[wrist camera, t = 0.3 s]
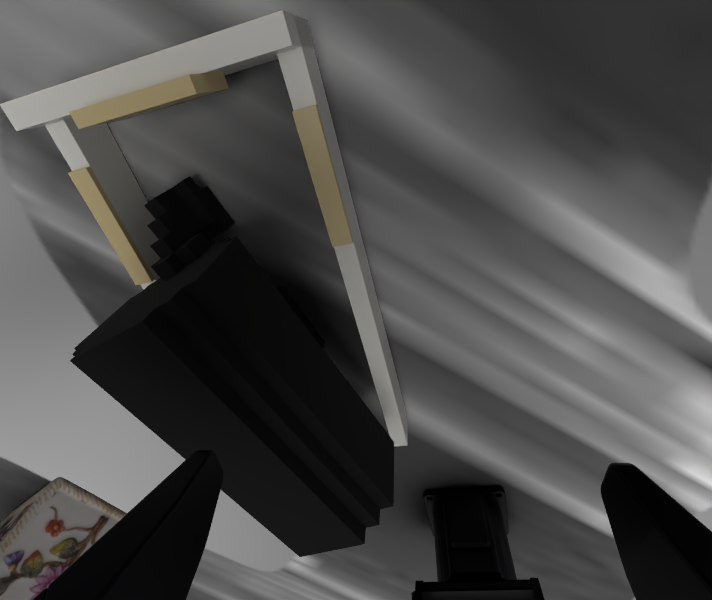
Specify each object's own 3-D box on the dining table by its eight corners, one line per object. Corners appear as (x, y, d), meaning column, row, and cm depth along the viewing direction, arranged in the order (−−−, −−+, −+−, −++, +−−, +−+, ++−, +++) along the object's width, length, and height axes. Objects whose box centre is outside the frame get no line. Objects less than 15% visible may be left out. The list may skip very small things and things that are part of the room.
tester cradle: (407, 416, 28) (408, 479, 24) (255, 430, 30) (232, 490, 26) (307, 20, 16) (274, 6, 12) (71, 96, 19) (-25, 106, 14)
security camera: (230, 149, 19) (98, 220, 11) (400, 393, 27) (400, 546, 18) (137, 213, 22) (-32, 313, 13) (317, 421, 29) (284, 568, 21)
